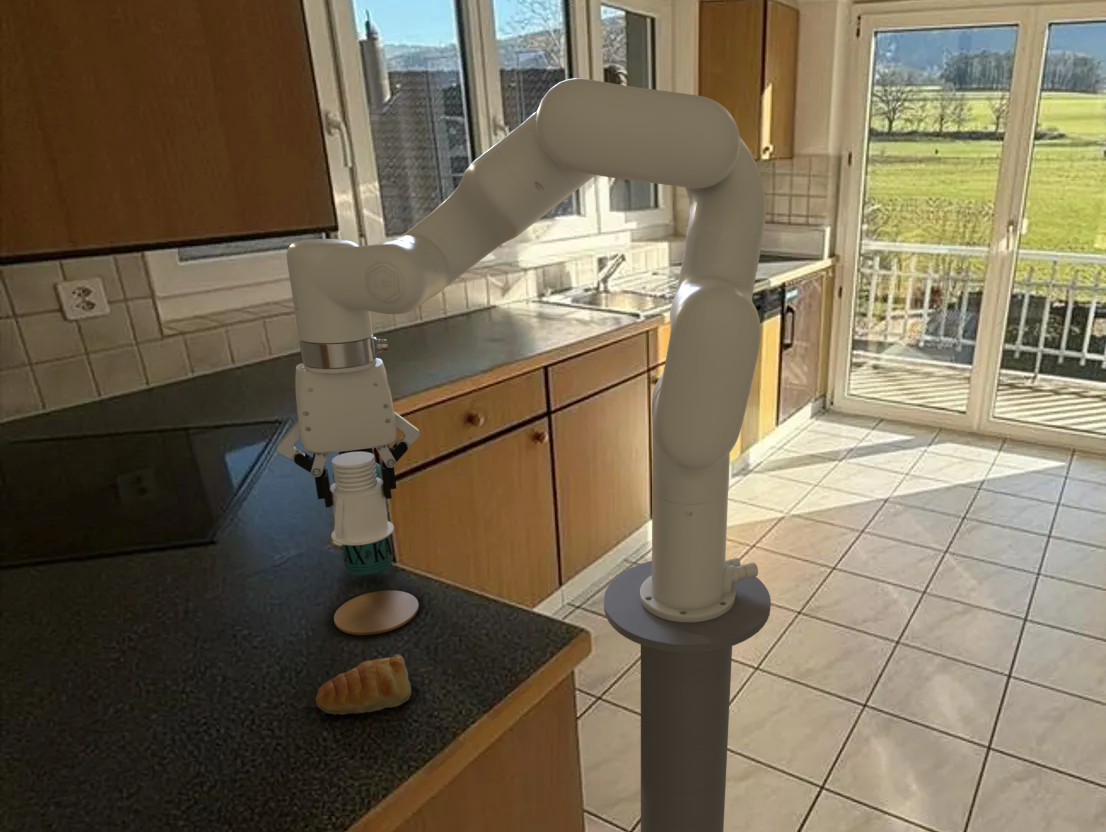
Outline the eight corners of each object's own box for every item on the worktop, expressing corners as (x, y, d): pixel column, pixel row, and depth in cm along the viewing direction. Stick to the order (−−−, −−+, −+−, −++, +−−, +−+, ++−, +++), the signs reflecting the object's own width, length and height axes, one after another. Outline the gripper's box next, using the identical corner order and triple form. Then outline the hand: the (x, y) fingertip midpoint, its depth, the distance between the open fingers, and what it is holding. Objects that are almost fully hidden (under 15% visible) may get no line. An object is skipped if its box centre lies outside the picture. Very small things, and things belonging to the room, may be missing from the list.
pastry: (320, 730, 80) (315, 699, 79) (314, 693, 86) (309, 663, 85) (416, 702, 85) (412, 673, 84) (405, 669, 90) (402, 640, 89)
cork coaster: (414, 586, 107) (413, 584, 107) (423, 624, 99) (422, 621, 99) (333, 602, 103) (332, 599, 103) (335, 642, 95) (335, 639, 94)
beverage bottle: (338, 572, 110) (318, 438, 103) (386, 557, 114) (370, 428, 108) (355, 590, 106) (335, 452, 99) (404, 575, 110) (388, 441, 103)
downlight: (361, 516, 101) (351, 444, 97) (408, 525, 99) (400, 451, 96) (315, 544, 94) (303, 466, 90) (365, 553, 92) (355, 474, 88)
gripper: (415, 340, 95) (429, 477, 102) (252, 350, 88) (278, 498, 94) (423, 354, 89) (437, 499, 95) (248, 367, 82) (276, 523, 88)
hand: (358, 497), depth 95 cm, fingers closed on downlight, 5 cm apart
